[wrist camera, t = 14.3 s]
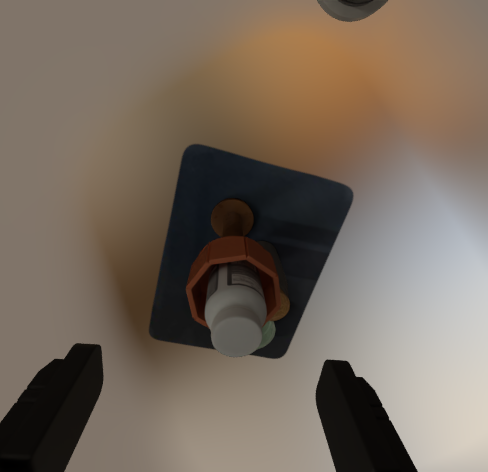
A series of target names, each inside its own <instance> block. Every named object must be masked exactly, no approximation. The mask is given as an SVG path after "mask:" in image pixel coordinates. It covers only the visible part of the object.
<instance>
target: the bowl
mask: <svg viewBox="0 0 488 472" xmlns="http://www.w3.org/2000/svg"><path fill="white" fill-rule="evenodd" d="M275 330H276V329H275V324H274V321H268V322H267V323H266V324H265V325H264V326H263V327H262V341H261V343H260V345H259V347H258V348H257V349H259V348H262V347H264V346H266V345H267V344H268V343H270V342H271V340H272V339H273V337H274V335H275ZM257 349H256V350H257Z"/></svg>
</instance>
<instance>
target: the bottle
mask: <svg viewBox="0 0 488 472" xmlns="http://www.w3.org/2000/svg"><path fill="white" fill-rule="evenodd" d="M257 243H259V244H260V245H261V246H263V248H264V249H265V250H266V251H268V252H269V253H271V256H272V257H273V260H274V264H275V267H276V270H277V274H278V277H279V287H280V296H281V306H280V309H279V310H278V311H277V312H276V313H275V314H274V316H273V317H272V318H271V319H270V320H269V321H276V320H279V319H281V318H283V317H284V316H285V315H286V314H287V313H288V311H289V308H290V301H289V294H288V291H287V288H288V284H287V280H286V277H285V274H284V271H283V268H282V265H281V262H280V259H279V257H278V254H277V251H276V249H275V247H274V246H273V245H272V244H271V243H269V242H266V241H257Z"/></svg>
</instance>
